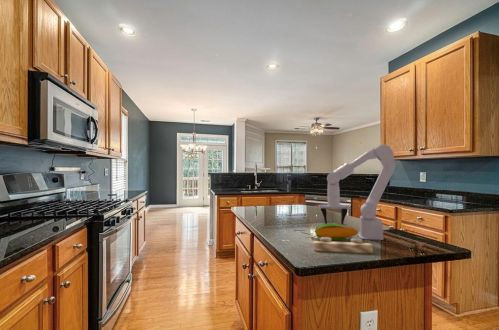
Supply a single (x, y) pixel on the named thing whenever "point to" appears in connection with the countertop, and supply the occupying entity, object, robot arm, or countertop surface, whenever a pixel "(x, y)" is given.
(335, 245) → the boss rack
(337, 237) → the corn
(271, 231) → the countertop surface
